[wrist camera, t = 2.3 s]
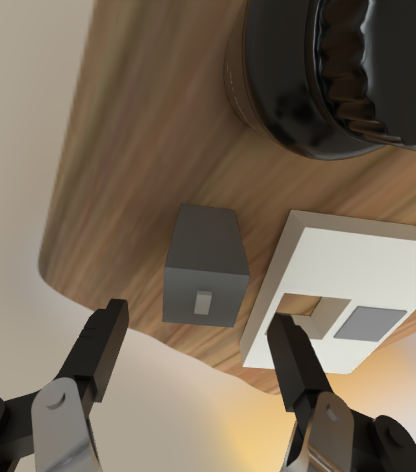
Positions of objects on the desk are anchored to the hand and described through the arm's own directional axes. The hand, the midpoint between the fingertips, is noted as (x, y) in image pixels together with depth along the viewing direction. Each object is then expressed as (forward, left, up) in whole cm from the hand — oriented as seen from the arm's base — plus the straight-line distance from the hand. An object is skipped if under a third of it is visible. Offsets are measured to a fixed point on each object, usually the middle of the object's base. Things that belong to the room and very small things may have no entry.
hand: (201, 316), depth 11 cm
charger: (0, 0, -9) cm, 9 cm away
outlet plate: (+7, +14, -9) cm, 18 cm away
